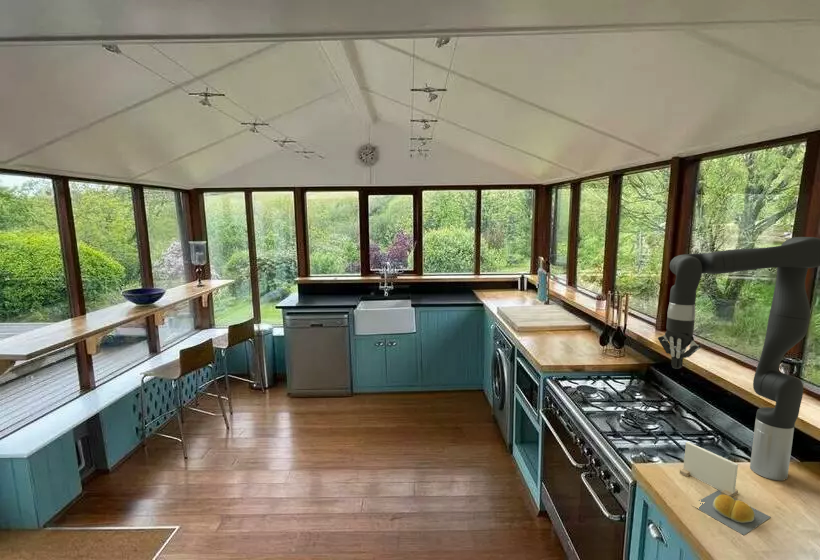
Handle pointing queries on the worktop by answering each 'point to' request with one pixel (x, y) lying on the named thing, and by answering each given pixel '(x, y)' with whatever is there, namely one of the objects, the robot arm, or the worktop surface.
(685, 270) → the robot arm
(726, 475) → the screen
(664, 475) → the worktop surface
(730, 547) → the worktop surface
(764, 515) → the mat
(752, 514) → the bread roll
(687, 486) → the worktop surface
